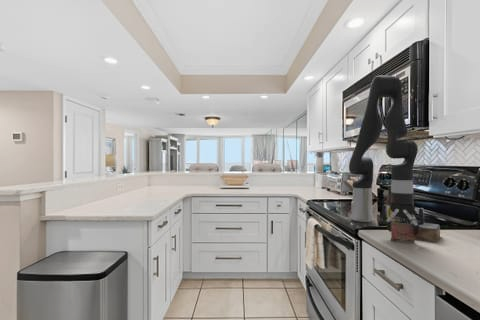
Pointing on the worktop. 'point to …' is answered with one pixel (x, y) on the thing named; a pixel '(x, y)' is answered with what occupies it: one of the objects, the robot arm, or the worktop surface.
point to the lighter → (402, 230)
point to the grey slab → (428, 232)
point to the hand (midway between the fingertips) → (402, 232)
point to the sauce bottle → (389, 203)
